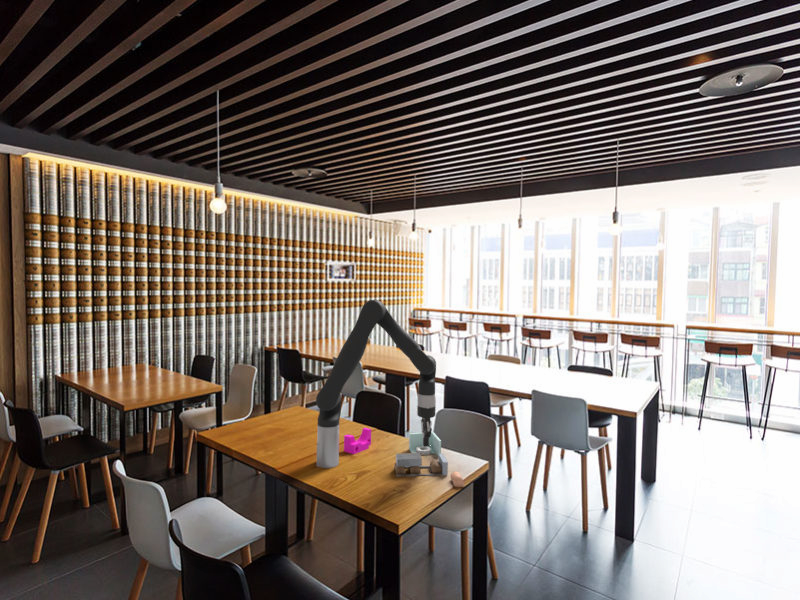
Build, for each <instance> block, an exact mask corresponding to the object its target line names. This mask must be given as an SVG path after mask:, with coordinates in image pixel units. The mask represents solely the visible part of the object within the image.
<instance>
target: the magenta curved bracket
mask: <svg viewBox="0 0 800 600" xmlns="http://www.w3.org/2000/svg"><path fill="white" fill-rule="evenodd" d="M370 445H372V429H371V428H367V427H364V428H362V431H361V433H360V436H359V438H358V439H355V436H354V435H352V434H345V435H344V436H343V452H346V453H349V454H352V455H355V454H358V453H361V452H363V451H366V450H369V449H370V448H369V447H370Z"/></svg>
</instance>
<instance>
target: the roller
mask: <svg viewBox="0 0 800 600" xmlns="http://www.w3.org/2000/svg"><path fill="white" fill-rule="evenodd" d="M450 480H451V482H452V484H453V486H454V488H463V487H464V486H465V480H464V479H463V477H462V475H461V473H460V472H459V471H452V473H451V474H450Z"/></svg>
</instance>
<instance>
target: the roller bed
mask: <svg viewBox="0 0 800 600" xmlns="http://www.w3.org/2000/svg"><path fill="white" fill-rule="evenodd" d="M438 461H439V460H437V459H431V461H430V463H429V465H422V466H408V467H397V464H396V462H394V470H395V476H396V477H424V476H425V477H429V476H432V477H434V476H438V475H442V476H443V474H442V468H441V466H440V464H439V462H438ZM406 469H409V471H410V473H409V474H406V472H407V470H406ZM421 469H429V472H430V473H422V472H421ZM438 477H439V476H438Z"/></svg>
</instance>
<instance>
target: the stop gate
mask: <svg viewBox="0 0 800 600" xmlns="http://www.w3.org/2000/svg"><path fill="white" fill-rule="evenodd" d="M437 461H438V462H439V464H440V466H441V468H442V474H443V475H448V471H449V470H448V469H449V462H448V460H447V458H446V456H445V454H444V453H441V454H439V457H438V460H437ZM443 475H442V476H443ZM448 476H449V475H448Z"/></svg>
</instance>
